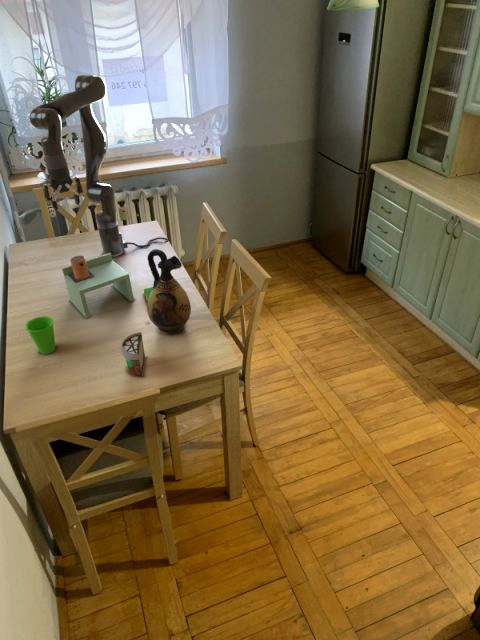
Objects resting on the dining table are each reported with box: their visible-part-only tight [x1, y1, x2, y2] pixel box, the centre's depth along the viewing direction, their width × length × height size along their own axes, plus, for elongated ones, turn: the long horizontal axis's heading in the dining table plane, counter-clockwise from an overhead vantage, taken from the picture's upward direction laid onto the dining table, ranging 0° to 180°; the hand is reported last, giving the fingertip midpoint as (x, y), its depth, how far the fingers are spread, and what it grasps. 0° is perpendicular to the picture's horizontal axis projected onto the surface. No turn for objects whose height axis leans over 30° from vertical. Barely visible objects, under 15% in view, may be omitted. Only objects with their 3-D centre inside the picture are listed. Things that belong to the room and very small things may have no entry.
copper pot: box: [69, 255, 89, 280], centre depth 176 cm, size 5×8×8 cm
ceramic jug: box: [146, 248, 192, 336], centre depth 162 cm, size 17×15×30 cm
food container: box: [120, 331, 146, 377], centre depth 149 cm, size 12×6×10 cm, turn 5°
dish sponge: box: [143, 286, 153, 302], centre depth 185 cm, size 7×14×2 cm, turn 22°
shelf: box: [61, 253, 135, 319], centre depth 182 cm, size 20×16×15 cm
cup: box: [24, 315, 56, 355], centre depth 158 cm, size 9×9×11 cm
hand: (67, 206), depth 184 cm, fingers open, 8 cm apart
